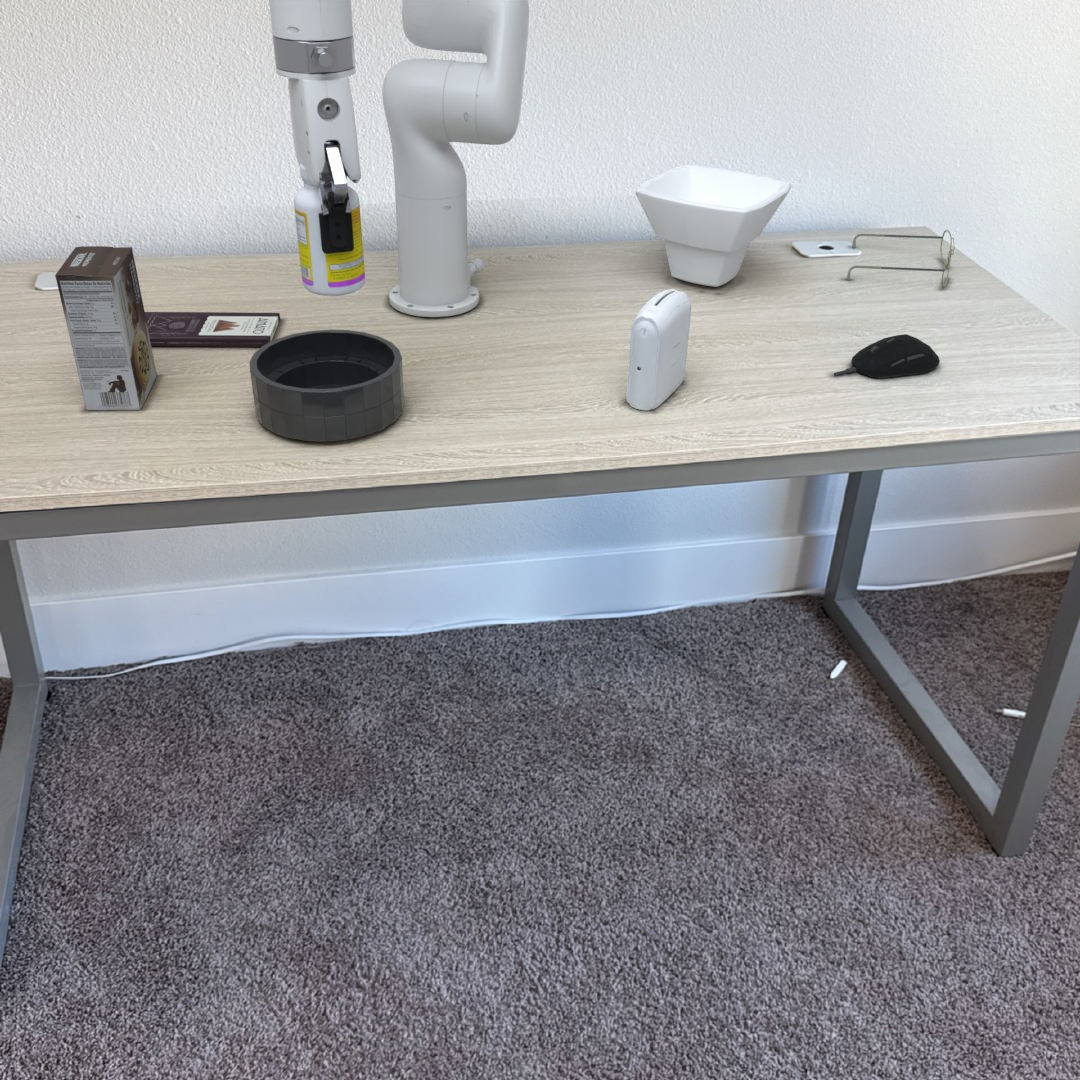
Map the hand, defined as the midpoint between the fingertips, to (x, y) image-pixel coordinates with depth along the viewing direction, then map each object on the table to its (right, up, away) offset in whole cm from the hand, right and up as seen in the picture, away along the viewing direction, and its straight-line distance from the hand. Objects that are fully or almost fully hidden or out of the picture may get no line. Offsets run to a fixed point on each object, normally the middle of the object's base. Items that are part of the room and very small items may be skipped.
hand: (330, 238), depth 114 cm
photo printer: (+36, -14, +17) cm, 42 cm away
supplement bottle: (0, -4, +3) cm, 5 cm away
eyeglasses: (+78, +11, +56) cm, 96 cm away
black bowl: (-2, -17, +11) cm, 20 cm away
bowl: (+47, +7, +50) cm, 68 cm away
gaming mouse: (+66, -10, +25) cm, 71 cm away
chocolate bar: (-22, -4, +29) cm, 36 cm away
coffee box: (-27, -14, +14) cm, 34 cm away
